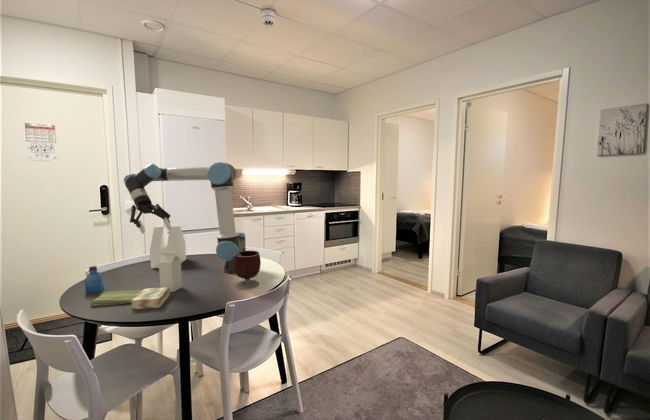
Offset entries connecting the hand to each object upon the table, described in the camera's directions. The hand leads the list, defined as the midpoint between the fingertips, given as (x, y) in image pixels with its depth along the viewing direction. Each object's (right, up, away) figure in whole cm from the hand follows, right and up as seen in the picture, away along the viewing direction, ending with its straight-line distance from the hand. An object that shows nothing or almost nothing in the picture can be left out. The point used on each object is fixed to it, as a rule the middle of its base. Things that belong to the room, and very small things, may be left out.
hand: (157, 230), depth 158 cm
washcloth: (-10, -32, -15) cm, 37 cm away
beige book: (+7, -32, -18) cm, 37 cm away
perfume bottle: (-30, -30, -3) cm, 42 cm away
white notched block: (-16, -25, +44) cm, 53 cm away
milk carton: (+9, -30, -3) cm, 31 cm away
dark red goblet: (+45, -29, +3) cm, 54 cm away
